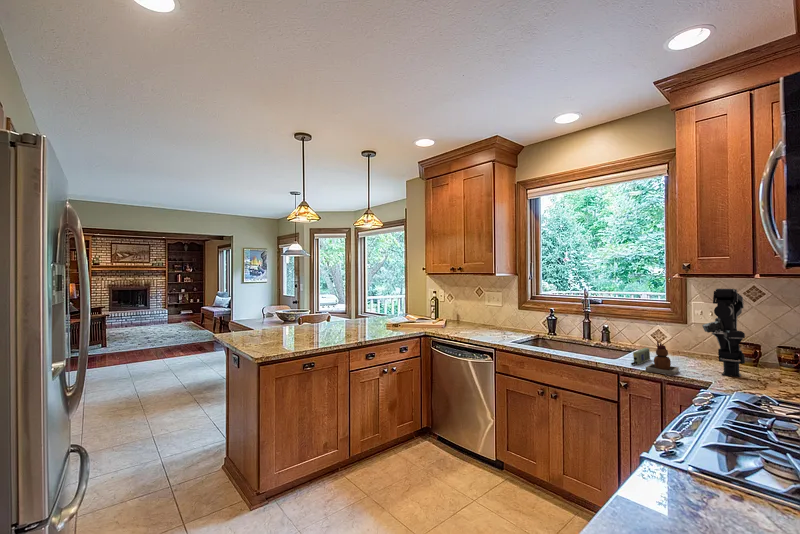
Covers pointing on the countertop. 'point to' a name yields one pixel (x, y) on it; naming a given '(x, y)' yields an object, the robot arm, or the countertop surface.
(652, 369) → the grey shallow tray
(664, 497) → the countertop surface
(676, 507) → the countertop surface
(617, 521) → the countertop surface
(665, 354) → the wooden figurine
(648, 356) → the handheld radio
